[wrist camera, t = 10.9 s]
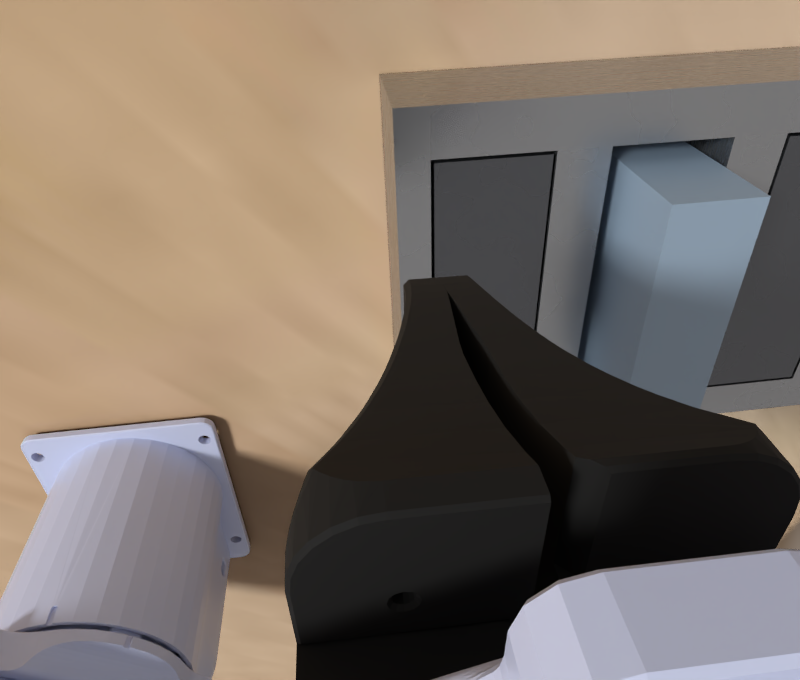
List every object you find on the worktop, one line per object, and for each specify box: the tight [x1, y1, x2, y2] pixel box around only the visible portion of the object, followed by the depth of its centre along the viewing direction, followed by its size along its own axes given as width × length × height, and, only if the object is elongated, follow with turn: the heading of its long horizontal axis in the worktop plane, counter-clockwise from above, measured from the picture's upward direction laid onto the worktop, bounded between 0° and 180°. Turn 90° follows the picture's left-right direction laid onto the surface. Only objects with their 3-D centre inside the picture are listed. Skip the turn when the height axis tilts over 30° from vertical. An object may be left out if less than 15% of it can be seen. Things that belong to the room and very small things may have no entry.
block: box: [578, 141, 771, 409], centre depth 20 cm, size 8×3×6 cm, turn 2°
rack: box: [379, 47, 800, 413], centre depth 22 cm, size 13×16×4 cm
